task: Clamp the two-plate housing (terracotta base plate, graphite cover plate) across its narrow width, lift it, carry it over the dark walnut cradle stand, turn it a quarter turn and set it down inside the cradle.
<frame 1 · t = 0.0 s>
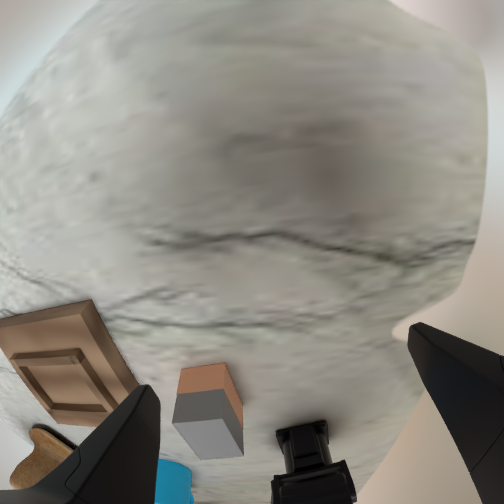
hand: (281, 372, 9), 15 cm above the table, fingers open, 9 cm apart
mug: (173, 473, 37), on the table
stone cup: (65, 448, 35), on the table
housing: (213, 388, 28), on the table
walnut cradle stand: (72, 368, 27), on the table
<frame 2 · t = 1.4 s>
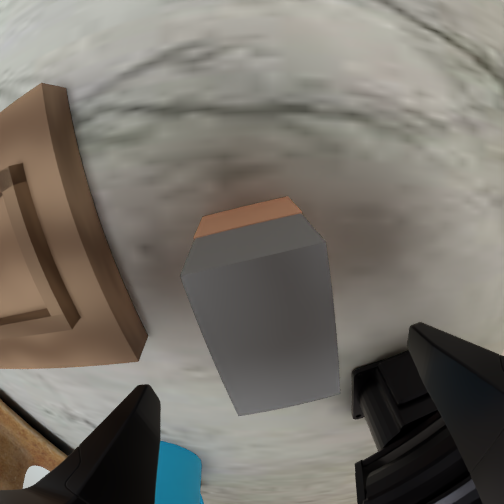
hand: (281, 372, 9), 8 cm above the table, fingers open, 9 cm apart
mug: (173, 464, 25), on the table
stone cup: (23, 425, 23), on the table
housing: (259, 266, 16), on the table
walnut cradle stand: (13, 252, 15), on the table
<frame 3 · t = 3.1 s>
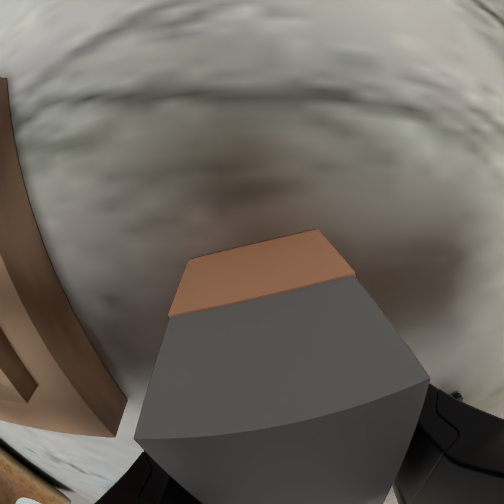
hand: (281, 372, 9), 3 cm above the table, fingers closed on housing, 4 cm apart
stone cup: (9, 455, 18), on the table
housing: (273, 327, 11), on the table, touching gripper
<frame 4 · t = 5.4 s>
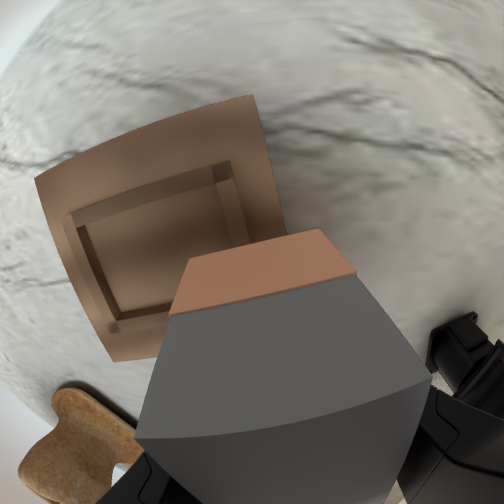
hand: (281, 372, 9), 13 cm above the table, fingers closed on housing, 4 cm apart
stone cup: (104, 422, 29), on the table
housing: (274, 327, 11), point 10 cm above the table, touching gripper
walnut cradle stand: (169, 241, 21), on the table
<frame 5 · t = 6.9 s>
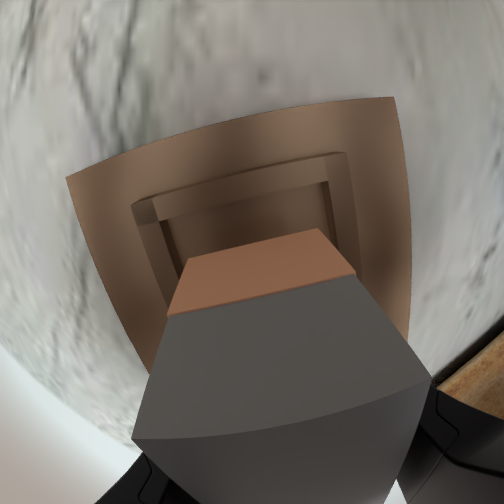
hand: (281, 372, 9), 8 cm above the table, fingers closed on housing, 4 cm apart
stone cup: (475, 369, 22), on the table
housing: (273, 327, 11), point 6 cm above the table, touching gripper
walnut cradle stand: (261, 269, 17), on the table
when the fingers open (6 cm above the table, at t = 8.0 s): housing drops 1 cm, resting on walnut cradle stand.
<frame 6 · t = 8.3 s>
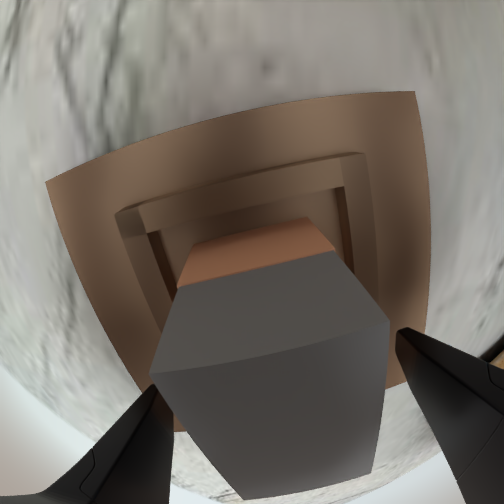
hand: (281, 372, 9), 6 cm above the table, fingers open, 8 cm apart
housing: (269, 307, 12), point 2 cm above the table, touching walnut cradle stand
walnut cradle stand: (264, 282, 15), on the table
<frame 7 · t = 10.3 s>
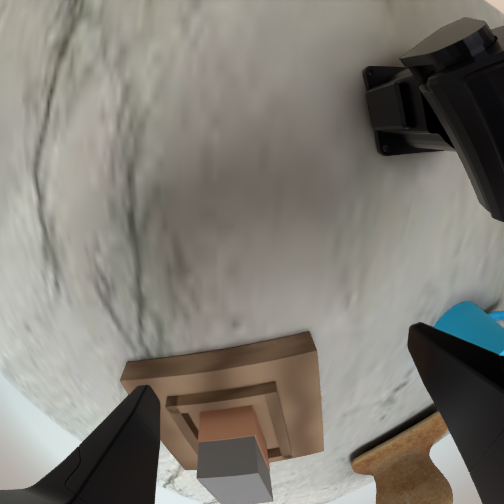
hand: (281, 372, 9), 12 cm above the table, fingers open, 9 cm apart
mug: (464, 325, 25), on the table
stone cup: (398, 440, 32), on the table
housing: (235, 428, 23), point 2 cm above the table, touching walnut cradle stand
walnut cradle stand: (235, 409, 26), on the table
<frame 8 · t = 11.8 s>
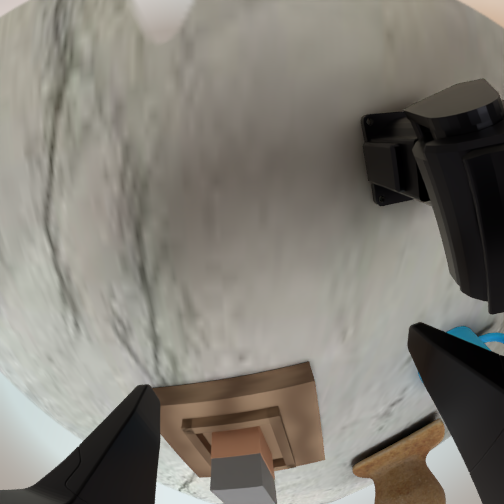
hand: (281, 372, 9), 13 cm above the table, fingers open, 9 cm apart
mug: (458, 346, 26), on the table
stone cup: (397, 447, 34), on the table
housing: (244, 443, 25), point 2 cm above the table, touching walnut cradle stand
walnut cradle stand: (243, 425, 28), on the table
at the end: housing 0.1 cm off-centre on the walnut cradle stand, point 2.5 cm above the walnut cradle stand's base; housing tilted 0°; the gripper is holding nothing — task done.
